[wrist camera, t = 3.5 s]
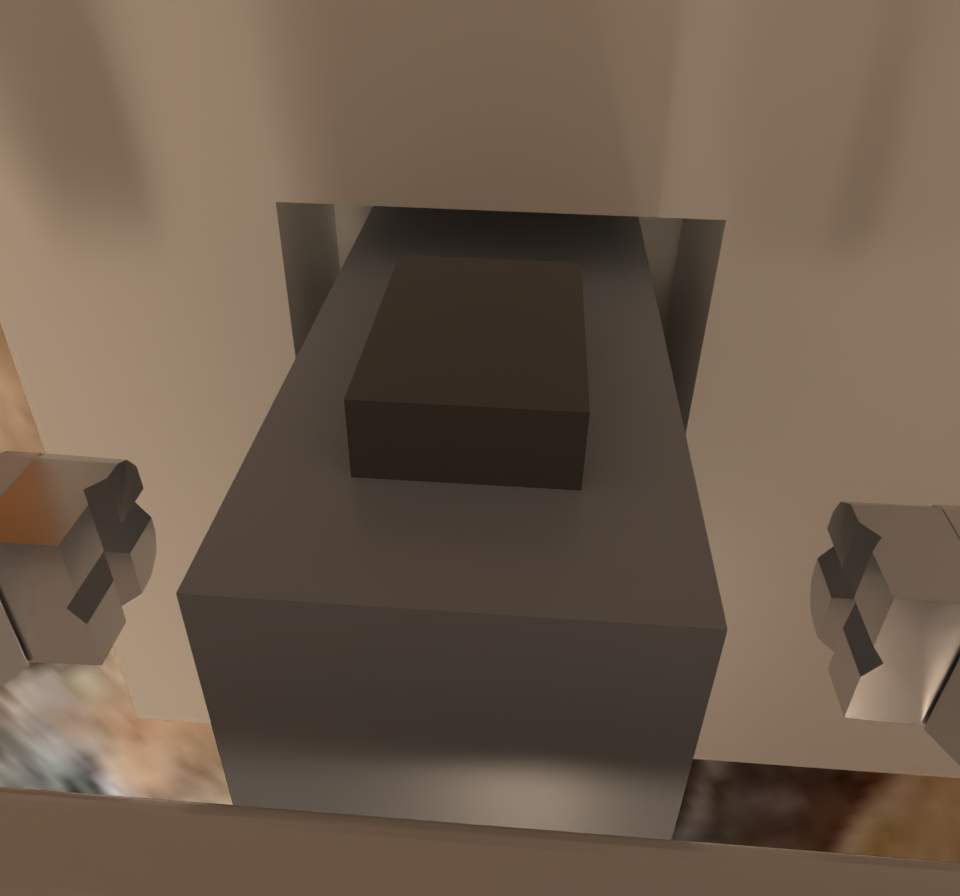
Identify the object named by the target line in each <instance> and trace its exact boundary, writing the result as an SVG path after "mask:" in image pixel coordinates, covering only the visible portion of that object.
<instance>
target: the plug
mask: <svg viewBox="0 0 960 896" xmlns="http://www.w3.org/2000/svg"><path fill="white" fill-rule="evenodd" d="M176 596H177V599H178V603H179V607H180V610H181V614H182V618H183V621H184V625H185V629H186V633H187V636H188V640H189V644H190V647H191V651H192V655H193V658H194V662H195V666H196V670H197V673H198V677H199V681H200V684H201V688H202V692H203V695H204V699H205V703H206V706H207V710H208V714H209V718H210V721H211V725H212V729H213V732H214V736H215V740H216V743H217V747H218V751H219V755H220V758H221V762H222V766H223V769H224V773H225V777H226V780H227V784H228V788H229V792H230V795H231V799H232V803H233V805H237V806H250V807H262V808H275V809H287V810H300V811H313V812H325V813H338V814H351V815H363V816H376V817H388V818H401V819H414V820H426V821H439V822H452V823H464V824H477V825H489V826H502V827H515V828H527V829H540V830H553V831H565V832H578V833H591V834H604V835H617V836H629V837H642V838H655V839H668V840H672V836H673V833H674V829H675V825H676V821H677V818H678V814H679V810H680V806H681V803H682V799H683V795H684V791H685V788H686V784H687V780H688V776H689V773H690V769H691V765H692V761H693V758H694V754H695V750H696V746H697V743H698V739H699V735H700V732H701V728H702V724H703V720H704V717H705V713H706V709H707V705H708V702H709V698H710V694H711V690H712V687H713V683H714V679H715V675H716V672H717V668H718V664H719V660H720V657H721V653H722V649H723V645H724V642H725V638H726V634H727V630H728V629H727V624H726V619H725V615H724V610H723V605H722V601H721V596H720V592H719V587H718V582H717V578H716V573H715V569H714V564H713V559H712V555H711V550H710V545H709V541H708V536H707V532H706V527H705V522H704V518H703V513H702V508H701V504H700V499H699V495H698V490H697V485H696V481H695V476H694V471H693V467H692V462H691V458H690V453H689V448H688V444H687V439H686V435H685V430H684V425H683V421H682V416H681V411H680V407H679V402H678V398H677V393H676V388H675V384H674V379H673V374H672V370H671V365H670V361H669V356H668V351H667V347H666V342H665V337H664V333H663V328H662V324H661V319H660V314H659V310H658V305H657V301H656V296H655V291H654V287H653V282H652V277H651V273H650V268H649V264H648V259H647V254H646V250H645V245H644V240H643V236H642V231H641V227H640V222H639V217H635V216H611V215H586V214H562V213H537V212H512V211H488V210H463V209H439V208H414V207H389V206H373V207H372V209H371V211H370V213H369V215H368V217H367V219H366V221H365V223H364V225H363V227H362V229H361V231H360V233H359V235H358V237H357V239H356V241H355V243H354V245H353V247H352V249H351V251H350V253H349V255H348V257H347V259H346V260H345V262H344V264H343V266H342V268H341V270H340V272H339V274H338V276H337V278H336V280H335V282H334V284H333V286H332V288H331V290H330V292H329V294H328V296H327V298H326V300H325V302H324V304H323V306H322V308H321V310H320V312H319V314H318V315H317V317H316V319H315V321H314V323H313V325H312V327H311V329H310V331H309V333H308V335H307V337H306V339H305V341H304V343H303V345H302V347H301V349H300V351H299V353H298V355H297V357H296V359H295V361H294V363H293V365H292V367H291V368H290V370H289V372H288V374H287V376H286V378H285V380H284V382H283V384H282V386H281V388H280V390H279V392H278V394H277V396H276V398H275V400H274V402H273V404H272V406H271V408H270V410H269V412H268V414H267V416H266V418H265V420H264V422H263V423H262V425H261V427H260V429H259V431H258V433H257V435H256V437H255V439H254V441H253V443H252V445H251V447H250V449H249V451H248V453H247V455H246V457H245V459H244V461H243V463H242V465H241V467H240V469H239V471H238V473H237V475H236V476H235V478H234V480H233V482H232V484H231V486H230V488H229V490H228V492H227V494H226V496H225V498H224V500H223V502H222V504H221V506H220V508H219V510H218V512H217V514H216V516H215V518H214V520H213V522H212V524H211V526H210V528H209V530H208V531H207V533H206V535H205V537H204V539H203V541H202V543H201V545H200V547H199V549H198V551H197V553H196V555H195V557H194V559H193V561H192V563H191V565H190V567H189V569H188V571H187V573H186V575H185V577H184V579H183V581H182V583H181V584H180V586H179V588H178V590H177V592H176Z"/></svg>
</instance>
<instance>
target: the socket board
mask: <svg viewBox="0 0 960 896" xmlns="http://www.w3.org/2000/svg"><path fill="white" fill-rule="evenodd" d="M373 206H389V207H414V208H439V209H463V210H488V211H512V212H537V213H562V214H586V215H611V216H635V217H639V222H640V227H641V231H642V236H643V240H644V245H645V250H646V254H647V259H648V264H649V268H650V273H651V277H652V282H653V287H654V291H655V296H656V301H657V305H658V310H659V314H660V319H661V324H662V328H663V333H664V337H665V342H666V347H667V351H668V356H669V361H670V365H671V370H672V374H673V379H674V384H675V388H676V393H677V398H678V402H679V407H680V411H681V416H682V421H683V425H684V430H685V435H686V439H687V444H688V448H689V453H690V458H691V462H692V467H693V471H694V476H695V481H696V485H697V490H698V495H699V499H700V504H701V508H702V513H703V518H704V522H705V527H706V532H707V536H708V541H709V545H710V550H711V555H712V559H713V564H714V569H715V573H716V578H717V582H718V587H719V592H720V596H721V601H722V605H723V610H724V615H725V619H726V624H727V629H728V630H727V634H726V638H725V642H724V645H723V649H722V653H721V657H720V660H719V664H718V668H717V672H716V675H715V679H714V683H713V687H712V690H711V694H710V698H709V702H708V705H707V709H706V713H705V717H704V720H703V724H702V728H701V732H700V735H699V739H698V743H697V746H696V750H695V754H694V758H693V759H702V760H716V761H729V762H743V763H757V764H770V765H784V766H797V767H811V768H825V769H838V770H852V771H865V772H879V773H893V774H906V775H920V776H934V777H947V778H960V766H959V765H958V764H957V763H956V762H955V761H954V760H953V759H952V758H951V757H950V756H949V755H948V754H947V753H946V752H945V751H944V749H943V748H942V747H941V746H940V745H939V744H938V743H937V742H936V741H935V740H934V739H933V738H932V737H931V736H930V735H929V734H928V733H927V732H926V731H925V730H924V727H925V725H915V724H904V723H894V722H884V721H873V720H863V719H853V718H844V716H843V713H842V710H841V707H840V704H839V701H838V698H837V695H836V692H835V689H834V686H833V683H832V680H831V677H830V674H829V671H828V667H829V664H830V662H831V659H832V656H833V653H834V652H833V651H832V650H831V649H830V648H829V647H828V646H826V645H825V644H824V643H823V642H822V641H821V640H819V639H818V638H817V634H816V631H815V628H814V625H813V621H812V615H811V608H810V590H811V579H812V575H813V572H814V568H815V565H816V561H817V558H818V557H820V556H821V555H822V554H824V553H825V552H826V551H828V550H829V549H830V548H832V547H833V546H834V545H833V543H832V540H831V538H830V535H829V532H828V530H827V528H828V525H829V522H830V519H831V516H832V513H833V511H834V510H835V508H836V507H837V506H838V504H839V503H840V502H841V501H843V502H862V503H880V504H899V505H918V506H932V505H954V506H960V0H0V323H1V326H2V329H3V332H4V335H5V338H6V341H7V344H8V346H9V349H10V352H11V355H12V358H13V361H14V364H15V367H16V369H17V372H18V375H19V378H20V381H21V384H22V387H23V389H24V392H25V395H26V398H27V401H28V404H29V407H30V410H31V412H32V415H33V418H34V421H35V424H36V427H37V430H38V433H39V435H40V438H41V441H42V444H43V447H44V450H45V453H46V454H47V453H49V454H61V455H74V456H86V457H99V458H111V459H124V460H128V461H130V462H131V463H133V464H134V465H136V466H137V469H138V472H139V475H140V478H141V481H142V485H143V488H144V489H143V490H142V492H141V493H140V495H139V497H138V498H137V500H136V501H135V502H136V503H137V504H138V505H139V506H140V507H141V508H142V509H143V510H144V511H145V512H146V513H147V514H148V515H150V516H151V517H152V521H153V525H154V529H155V532H156V550H157V552H156V557H155V562H154V566H153V571H152V575H151V577H150V579H149V581H148V583H147V585H146V587H145V589H144V591H143V592H142V594H140V595H139V596H137V597H136V598H134V599H132V600H131V601H129V602H128V603H126V604H125V605H123V606H122V609H123V612H124V615H125V619H126V623H125V625H124V627H123V628H122V630H121V632H120V634H119V636H118V637H117V639H116V641H115V643H114V644H113V648H114V651H115V654H116V656H117V659H118V662H119V665H120V668H121V671H122V674H123V677H124V679H125V682H126V685H127V688H128V691H129V694H130V697H131V700H132V702H133V705H134V708H135V711H136V714H137V717H138V718H144V719H157V720H171V721H185V722H198V723H211V721H210V718H209V714H208V710H207V706H206V703H205V699H204V695H203V692H202V688H201V684H200V681H199V677H198V673H197V670H196V666H195V662H194V658H193V655H192V651H191V647H190V644H189V640H188V636H187V633H186V629H185V625H184V621H183V618H182V614H181V610H180V607H179V603H178V599H177V596H176V592H177V590H178V588H179V586H180V584H181V583H182V581H183V579H184V577H185V575H186V573H187V571H188V569H189V567H190V565H191V563H192V561H193V559H194V557H195V555H196V553H197V551H198V549H199V547H200V545H201V543H202V541H203V539H204V537H205V535H206V533H207V531H208V530H209V528H210V526H211V524H212V522H213V520H214V518H215V516H216V514H217V512H218V510H219V508H220V506H221V504H222V502H223V500H224V498H225V496H226V494H227V492H228V490H229V488H230V486H231V484H232V482H233V480H234V478H235V476H236V475H237V473H238V471H239V469H240V467H241V465H242V463H243V461H244V459H245V457H246V455H247V453H248V451H249V449H250V447H251V445H252V443H253V441H254V439H255V437H256V435H257V433H258V431H259V429H260V427H261V425H262V423H263V422H264V420H265V418H266V416H267V414H268V412H269V410H270V408H271V406H272V404H273V402H274V400H275V398H276V396H277V394H278V392H279V390H280V388H281V386H282V384H283V382H284V380H285V378H286V376H287V374H288V372H289V370H290V368H291V367H292V365H293V363H294V361H295V359H296V357H297V355H298V353H299V351H300V349H301V347H302V345H303V343H304V341H305V339H306V337H307V335H308V333H309V331H310V329H311V327H312V325H313V323H314V321H315V319H316V317H317V315H318V314H319V312H320V310H321V308H322V306H323V304H324V302H325V300H326V298H327V296H328V294H329V292H330V290H331V288H332V286H333V284H334V282H335V280H336V278H337V276H338V274H339V272H340V270H341V268H342V266H343V264H344V262H345V260H346V259H347V257H348V255H349V253H350V251H351V249H352V247H353V245H354V243H355V241H356V239H357V237H358V235H359V233H360V231H361V229H362V227H363V225H364V223H365V221H366V219H367V217H368V215H369V213H370V211H371V209H372V207H373Z"/></svg>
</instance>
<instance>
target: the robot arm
mask: <svg viewBox="0 0 960 896" xmlns="http://www.w3.org/2000/svg"><path fill="white" fill-rule="evenodd" d="M143 489H144V488H143V485H142V481H141V478H140V475H139V472H138V469H137V466H136V465H134V464H133V463H131V462H130V461H128V460H124V459H111V458H99V457H86V456H74V455H61V454H49V453H47V454H41V453H30V452H15V451H5V452H2V453H0V688H1V687H2V686H3V685H5V684H6V683H7V682H9V681H10V680H11V679H13V678H14V677H15V676H16V675H18V674H19V673H20V672H22V671H23V670H24V669H26V668H27V667H28V666H29V664H28V662H38V663H61V664H85V665H102V664H103V662H104V660H105V659H106V657H107V655H108V653H109V651H110V650H111V648H112V646H113V644H114V643H115V641H116V639H117V637H118V636H119V634H120V632H121V630H122V628H123V627H124V625H125V623H126V619H125V615H124V612H123V609H122V606H123V605H125V604H126V603H128V602H129V601H131V600H132V599H134V598H136V597H137V596H139V595H140V594H142V592H143V591H144V589H145V587H146V585H147V583H148V581H149V579H150V577H151V575H152V571H153V566H154V562H155V557H156V552H157V550H156V532H155V529H154V525H153V521H152V517H151V516H150V515H148V514H147V513H146V512H145V511H144V510H143V509H142V508H141V507H140V506H139V505H138V504H137V503H136V502H135V501H136V500H137V498H138V497H139V495H140V493H141V492H142V490H143ZM827 530H828V532H829V535H830V538H831V540H832V543H833V545H834V546H833V547H832V548H830V549H829V550H828V551H826V552H825V553H824V554H822V555H821V556H820V557H818V558H817V561H816V565H815V568H814V572H813V575H812V579H811V590H810V608H811V615H812V621H813V625H814V628H815V631H816V634H817V638H818V639H819V640H821V641H822V642H823V643H824V644H825V645H826V646H828V647H829V648H830V649H831V650H832V651H833V652H834V653H833V656H832V659H831V662H830V664H829V667H828V671H829V674H830V677H831V680H832V683H833V686H834V689H835V692H836V695H837V698H838V701H839V704H840V707H841V710H842V713H843V716H844V718H853V719H863V720H873V721H884V722H894V723H904V724H915V725H925V727H924V730H925V731H926V732H927V733H928V734H929V735H930V736H931V737H932V738H933V739H934V740H935V741H936V742H937V743H938V744H939V745H940V746H941V747H942V748H943V749H944V751H945V752H946V753H947V754H948V755H949V756H950V757H951V758H952V759H953V760H954V761H955V762H956V763H957V764H958V765H959V766H960V506H954V505H932V506H918V505H899V504H880V503H862V502H843V501H841V502H840V503H839V504H838V506H837V507H836V508H835V510H834V511H833V513H832V516H831V519H830V522H829V525H828V528H827ZM0 896H960V862H947V861H934V860H922V859H909V858H897V857H884V856H871V855H859V854H846V853H834V852H821V851H808V850H795V849H783V848H770V847H757V846H744V845H731V844H719V843H706V842H693V841H680V840H668V839H655V838H642V837H629V836H617V835H604V834H591V833H578V832H565V831H553V830H540V829H527V828H515V827H502V826H489V825H477V824H464V823H452V822H439V821H426V820H414V819H401V818H388V817H376V816H363V815H351V814H338V813H325V812H313V811H300V810H287V809H275V808H262V807H250V806H237V805H224V804H212V803H199V802H186V801H174V800H161V799H148V798H135V797H123V796H110V795H97V794H85V793H72V792H59V791H47V790H34V789H21V788H9V787H0Z"/></svg>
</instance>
